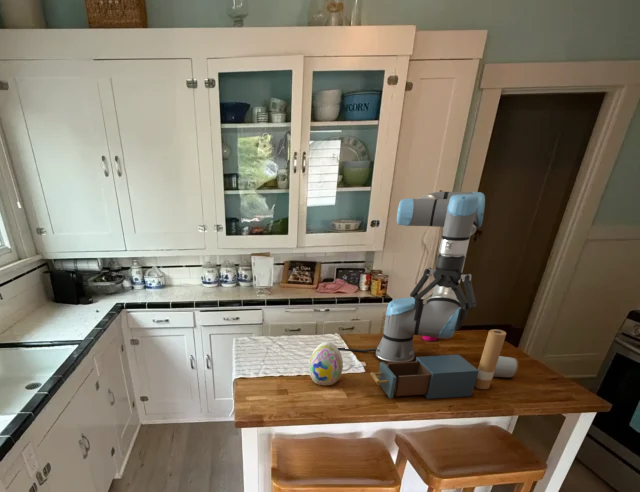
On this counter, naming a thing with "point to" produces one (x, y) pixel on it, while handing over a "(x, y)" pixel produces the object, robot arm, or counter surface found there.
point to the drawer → (403, 378)
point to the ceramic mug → (506, 367)
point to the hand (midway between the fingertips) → (436, 324)
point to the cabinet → (449, 376)
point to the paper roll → (489, 358)
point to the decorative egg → (326, 364)
